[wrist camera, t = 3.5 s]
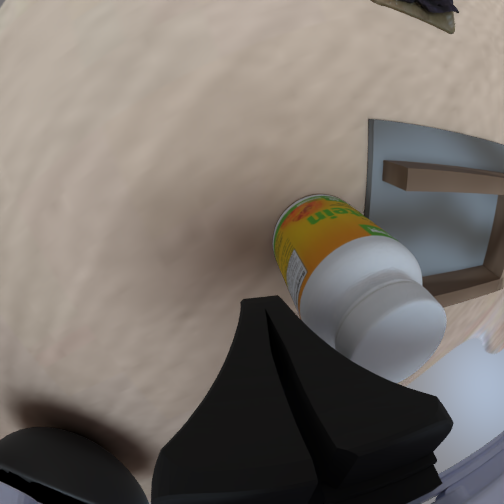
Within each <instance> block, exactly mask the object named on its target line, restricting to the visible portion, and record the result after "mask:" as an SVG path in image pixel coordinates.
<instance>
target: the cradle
mask: <svg viewBox="0 0 504 504" xmlns="http://www.w3.org/2000/svg"><path fill="white" fill-rule="evenodd" d="M364 216H365V217H366V218H368V219H369V220H371V221H372V222H373V223H375V224H376V225H377V226H379V227H380V228H381V229H383V230H384V231H385V232H387V233H388V234H389V235H391V236H392V237H393V238H395V239H396V240H397V241H399V242H400V243H401V244H402V245H404V246H405V247H406V248H407V249H408V250H409V251H410V252H411V253H412V254H413V255H414V257H415V258H416V260H417V262H418V264H419V266H420V269H421V273H422V286H423V287H424V288H425V289H426V290H427V291H428V292H429V293H430V294H431V295H432V296H433V297H434V298H435V299H436V300H437V301H438V302H439V303H440V304H441V305H442V307H447V306H450V305H454V304H457V303H461V302H464V301H467V300H470V299H474V298H477V297H480V296H483V295H486V294H489V293H492V292H495V291H498V290H501V289H503V288H504V145H502V144H498V143H495V142H491V141H488V140H484V139H480V138H477V137H473V136H468V135H464V134H460V133H455V132H451V131H446V130H441V129H436V128H431V127H425V126H419V125H413V124H407V123H400V122H392V121H384V120H376V119H369V139H368V170H367V188H366V202H365V214H364Z"/></svg>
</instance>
